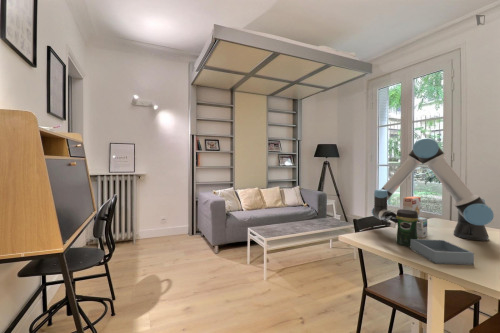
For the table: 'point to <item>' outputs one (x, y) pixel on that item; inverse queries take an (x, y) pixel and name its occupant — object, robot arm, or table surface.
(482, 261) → the table surface
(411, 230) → the coffee jar
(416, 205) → the cracker box
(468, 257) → the tray
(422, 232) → the light bulb box
